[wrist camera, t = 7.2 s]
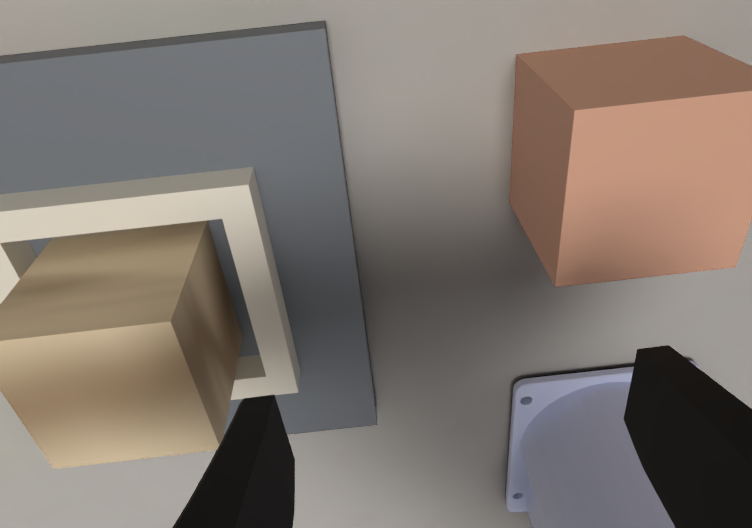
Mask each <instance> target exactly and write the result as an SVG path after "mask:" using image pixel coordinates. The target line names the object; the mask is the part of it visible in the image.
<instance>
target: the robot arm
mask: <svg viewBox="0 0 752 528" xmlns="http://www.w3.org/2000/svg"><path fill="white" fill-rule="evenodd" d="M523 397H525V398H523ZM294 493H295V459H294V456H293V453H292V450H291V446H290V443H289V440H288V437H287V433H286V430H285V427H284V424H283V420H282V417H281V414H280V411H279V407H278V404H277V401H276V398H275V395H267V396H259V397H251V398H244V399H243V400H242V401H241V402H240V404H239V406H238V408H237V411H236V413H235V415H234V417H233V419H232V421H231V423H230V425H229V427H228V429H227V431H226V433H225V435H224V437H223V439H222V441H221V443H220V445H219V447H218V449H217V451H216V453H215V455H214V457H213V459H212V461H211V462H210V464H209V466H208V468H207V470H206V471H205V473H204V475H203V477H202V479H201V480H200V482H199V484H198V486H197V488H196V489H195V491H194V493H193V495H192V496H191V498H190V500H189V502H188V503H187V505H186V507H185V508H184V510H183V512H182V513H181V515H180V516H179V518H178V520H177V521H176V523H175V524H174V526H173V528H292V527H293V517H294ZM505 503H506V507H507V510H508V511H510V512H513V513H517V512H526V511H527V512H528V515H529V518H530V522H531V525H532V528H752V409H751V408H749V407H748V406H747V405H745V404H744V403H743V402H741V401H740V400H739V399H737V398H736V397H735V396H734V395H732V394H731V393H730V392H728V391H727V390H726V389H724V388H723V387H722V386H721V385H719V384H718V383H717V382H715V381H714V380H713V379H711V378H710V377H709V376H708V375H706V374H705V373H704V372H703V371H701V369H700V367H699V366H698V365H697V363H696V362H694V361H688V360H687V359H686V358H685V357H683V356H682V355H681V354H679V353H678V352H677V351H675V350H674V349H673V348H671V347H670V346H669V345H668V346H660V347H652V348H644V349H637V354H636V359H635V364H634V367H626V368H617V369H608V370H599V371H589V372H580V373H571V374H562V375H553V376H544V377H535V378H526V379H521V380H519V381H518V382H517V383H516V384H515V385H514V387H513V399H512V413H511V428H510V442H509V457H508V471H507V485H506V500H505Z"/></svg>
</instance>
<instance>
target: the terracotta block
mask: <svg viewBox="0 0 752 528" xmlns="http://www.w3.org/2000/svg"><path fill="white" fill-rule="evenodd" d="M509 203H510V205H511V207H512V208H513V210H514V212H515V214H516V216H517V218H518V220H519V221H520V223H521V225H522V227H523V229H524V231H525V232H526V234H527V236H528V238H529V240H530V242H531V244H532V245H533V247H534V249H535V251H536V253H537V255H538V256H539V258H540V260H541V262H542V264H543V266H544V268H545V269H546V271H547V273H548V275H549V277H550V279H551V280H552V282H553V284H554V286H555V287H562V286H571V285H580V284H589V283H598V282H607V281H616V280H625V279H634V278H643V277H652V276H661V275H670V274H679V273H688V272H697V271H706V270H715V269H724V268H733V267H736V265H737V262H738V259H739V256H740V253H741V250H742V247H743V244H744V241H745V238H746V235H747V232H748V229H749V226H750V223H751V220H752V66H750V65H748V64H746V63H744V62H741V61H739V60H737V59H735V58H732V57H730V56H728V55H726V54H724V53H721V52H719V51H717V50H715V49H713V48H710V47H708V46H706V45H704V44H701V43H699V42H697V41H695V40H693V39H690V38H688V37H686V36H676V37H667V38H658V39H649V40H640V41H631V42H622V43H613V44H604V45H595V46H586V47H577V48H568V49H559V50H550V51H541V52H532V53H523V54H516V74H515V95H514V116H513V137H512V158H511V178H510V199H509Z"/></svg>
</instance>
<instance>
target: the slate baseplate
mask: <svg viewBox="0 0 752 528" xmlns="http://www.w3.org/2000/svg"><path fill="white" fill-rule="evenodd" d="M206 220H207V221H208V224H209V228H210V231H211V234H212V237H213V241H214V244H215V247H216V250H217V254H218V257H219V260H220V264H221V267H222V270H223V273H224V277H225V280H226V283H227V287H228V290H229V293H230V296H231V300H232V303H233V306H234V309H235V313H236V316H237V319H238V323H239V326H240V329H241V332H242V336H243V339H242V344H241V349H240V355H239V360H238V365H237V370H236V375H235V380H234V385H233V390H232V396H231V401H230V406H229V411H228V416H227V421H226V426H225V432H224V435H225V433H226V431H227V429H228V427H229V425H230V423H231V421H232V419H233V417H234V415H235V413H236V411H237V408H238V406H239V404H240V402H241V401H242V400H243V399H244V398H251V397H259V396H267V395H275V398H276V401H277V404H278V407H279V411H280V414H281V417H282V420H283V424H284V427H285V430H286V433H287V435H288V434H297V433H306V432H315V431H324V430H333V429H342V428H352V427H361V426H370V425H377V415H376V404H375V396H374V389H373V381H372V373H371V366H370V358H369V351H368V343H367V335H366V328H365V320H364V313H363V305H362V297H361V290H360V282H359V274H358V267H357V259H356V252H355V244H354V236H353V229H352V221H351V214H350V206H349V198H348V191H347V183H346V175H345V168H344V160H343V153H342V145H341V137H340V130H339V122H338V115H337V107H336V99H335V92H334V84H333V77H332V69H331V61H330V54H329V46H328V38H327V31H326V23H325V21H318V22H309V23H299V24H290V25H281V26H272V27H263V28H253V29H244V30H235V31H226V32H217V33H207V34H198V35H189V36H180V37H171V38H162V39H152V40H143V41H134V42H125V43H116V44H106V45H97V46H88V47H79V48H70V49H60V50H51V51H42V52H33V53H24V54H14V55H5V56H0V304H1V303H2V302H3V300H4V299H5V298H6V297H7V295H8V294H9V293H10V291H11V290H12V289H13V288H14V286H15V285H16V284H17V282H18V281H19V280H20V279H21V277H22V276H23V275H24V273H25V272H26V271H27V270H28V268H29V267H30V266H31V264H32V263H33V262H34V261H35V259H36V258H37V257H38V255H39V254H40V253H41V252H42V250H43V249H44V248H45V246H46V245H47V244H48V242H49V241H50V240H51V239H52V238H57V237H66V236H75V235H83V234H92V233H101V232H110V231H118V230H127V229H136V228H144V227H153V226H162V225H171V224H179V223H188V222H197V221H206Z"/></svg>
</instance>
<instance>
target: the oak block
mask: <svg viewBox="0 0 752 528" xmlns="http://www.w3.org/2000/svg"><path fill="white" fill-rule="evenodd" d="M242 339H243V336H242V332H241V329H240V326H239V323H238V319H237V316H236V313H235V309H234V306H233V303H232V300H231V296H230V293H229V290H228V287H227V283H226V280H225V277H224V273H223V270H222V267H221V264H220V260H219V257H218V254H217V250H216V247H215V244H214V241H213V237H212V234H211V231H210V228H209V224H208V221H207V220H206V221H197V222H188V223H179V224H171V225H162V226H153V227H144V228H136V229H127V230H118V231H110V232H101V233H92V234H83V235H75V236H66V237H57V238H52V239H51V240H50V241H49V242H48V244H47V245H46V246H45V248H44V249H43V250H42V252H41V253H40V254H39V255H38V257H37V258H36V259H35V261H34V262H33V263H32V264H31V266H30V267H29V268H28V270H27V271H26V272H25V273H24V275H23V276H22V277H21V279H20V280H19V281H18V282H17V284H16V285H15V286H14V288H13V289H12V290H11V291H10V293H9V294H8V295H7V297H6V298H5V299H4V300H3V302H2V303H1V304H0V390H1V392H2V393H3V395H4V396H5V398H6V399H7V401H8V402H9V404H10V405H11V407H12V408H13V410H14V411H15V413H16V414H17V416H18V417H19V418H20V420H21V421H22V423H23V424H24V426H25V427H26V429H27V430H28V432H29V433H30V435H31V436H32V438H33V439H34V441H35V442H36V444H37V445H38V446H39V448H40V449H41V451H42V452H43V454H44V455H45V457H46V458H47V460H48V461H49V463H50V464H51V466H52V467H53V469H57V468H66V467H74V466H83V465H92V464H101V463H109V462H118V461H127V460H136V459H145V458H153V457H162V456H171V455H180V454H188V453H197V452H206V451H215V450H217V449H218V447H219V445H220V443H221V441H222V439H223V437H224V432H225V426H226V421H227V416H228V411H229V406H230V401H231V396H232V390H233V385H234V380H235V375H236V370H237V365H238V360H239V355H240V349H241V344H242Z"/></svg>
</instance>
